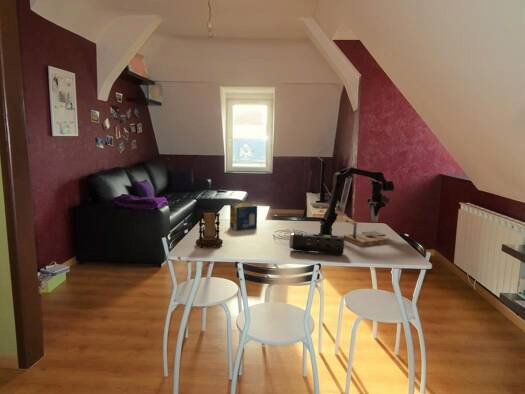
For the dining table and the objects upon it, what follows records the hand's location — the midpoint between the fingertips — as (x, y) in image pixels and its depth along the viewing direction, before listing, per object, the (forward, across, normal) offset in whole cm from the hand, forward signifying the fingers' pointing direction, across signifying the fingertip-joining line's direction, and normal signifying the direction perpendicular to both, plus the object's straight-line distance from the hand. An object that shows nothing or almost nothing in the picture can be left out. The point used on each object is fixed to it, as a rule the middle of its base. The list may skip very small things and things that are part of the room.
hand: (374, 215), depth 240 cm
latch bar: (+9, -11, +19) cm, 24 cm away
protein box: (+13, +13, +84) cm, 86 cm away
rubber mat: (+12, 0, 0) cm, 12 cm away
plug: (+4, 0, 0) cm, 4 cm away
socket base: (+12, -17, +11) cm, 23 cm away
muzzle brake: (+13, -40, +45) cm, 61 cm away
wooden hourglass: (+13, -28, +103) cm, 107 cm away
